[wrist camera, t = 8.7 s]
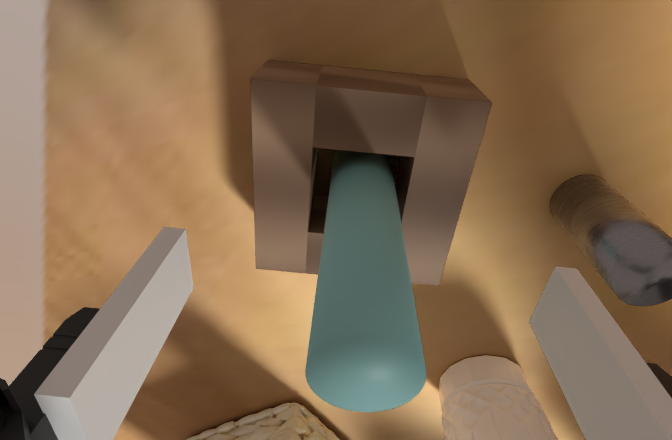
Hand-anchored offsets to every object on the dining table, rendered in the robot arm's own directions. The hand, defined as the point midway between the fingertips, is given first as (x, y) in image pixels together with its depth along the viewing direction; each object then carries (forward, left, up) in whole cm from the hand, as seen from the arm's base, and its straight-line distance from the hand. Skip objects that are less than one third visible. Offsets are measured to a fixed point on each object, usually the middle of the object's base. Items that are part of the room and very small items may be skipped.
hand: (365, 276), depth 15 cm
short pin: (-1, -13, -10) cm, 16 cm away
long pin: (0, 0, -9) cm, 10 cm away
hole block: (0, 0, -9) cm, 10 cm away
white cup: (-18, -12, -10) cm, 23 cm away
